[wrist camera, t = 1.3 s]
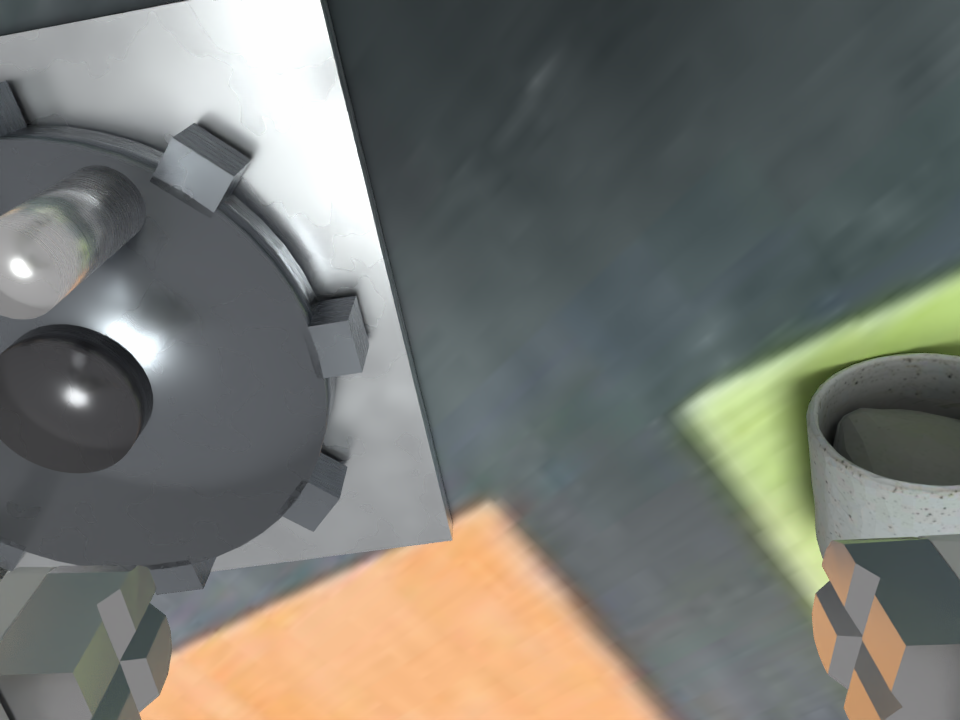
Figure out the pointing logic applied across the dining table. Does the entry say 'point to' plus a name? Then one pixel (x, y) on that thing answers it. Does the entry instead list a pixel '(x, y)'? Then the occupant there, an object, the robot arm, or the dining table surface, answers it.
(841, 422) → the ceramic mug
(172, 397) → the sprocket
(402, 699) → the dining table surface
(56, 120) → the base plate
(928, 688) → the robot arm
